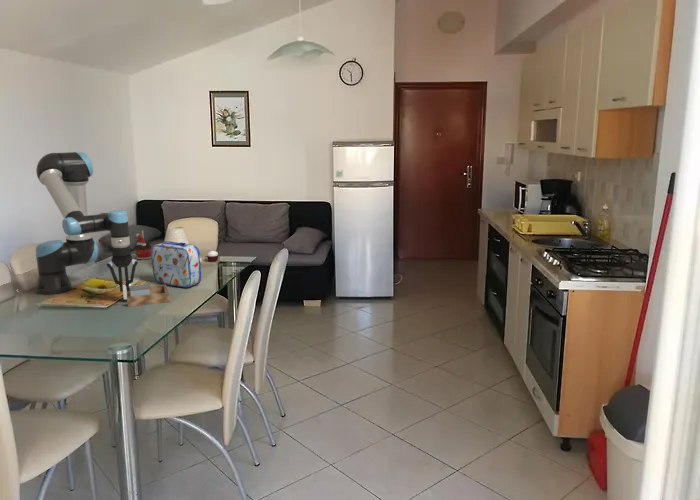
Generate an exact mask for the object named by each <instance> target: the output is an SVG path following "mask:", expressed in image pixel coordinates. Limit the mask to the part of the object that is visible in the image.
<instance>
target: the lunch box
mask: <svg viewBox="0 0 700 500" xmlns="http://www.w3.org/2000/svg"><path fill="white" fill-rule="evenodd" d="M150 259H151V266H152V267H151V268H152V273H153V277H154V279H155V280H156V281H157V282H158V283H160V284H163V285H165V284H166V286H167V285H168V286H170V287H171V286H172V287H179V288H189V287H192V286H195V285H199V284H200V283H201V280H202V269H201V266H202V263H203V260H202V257H201V252H200V249H199V247H198V246H196V245H195V244H191V243H190V244H185V243H176V242H169V241H166V242H164V241H163V242H161V243H157V244H154V245H151V258H150Z"/></svg>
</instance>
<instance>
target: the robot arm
mask: <svg viewBox="0 0 700 500" xmlns="http://www.w3.org/2000/svg"><path fill="white" fill-rule="evenodd" d="M35 170H36V176H37V179H38V180H39V182H40V183H41V185H43V186H45V187H46V190H47V191H48V193H49V195H50V196H51V198H52V200H53V201H54V203H55V205H56V206H57V209H58V210H59V212H60V214H61V215H62V217H63V219H62V223H61V224H62V229H63V232H64V233H65V235H66V237H65V242H63V240H62V239H53V240H48V241H43V242H42V243H39V244H38V245H37V246H36V247H35V258H36V264H37V271H38V272H37V273H38V278H37V283H36V287H35V290H36V291H35V292H36V293H37V294H38V295H39V294H40V295H54V294H56V295H57V294H61V293H65V291H66V292H68V290H69V291H71V290H72V289H73V284H72V282H71V279H70V278H69V275H68V274H67V269H66V268H67V267H73V266H79V265H86V264H88V263H92V262H95V261H96V259H97V258H98V254H99V246H98V242H97V240H96V239H94V238H93V235H91V233H100V232H107V231H109V233H110V244H111V260H110V261H108V262H106V267H107V268H109V271H110V274H111V276H112V279H113V281H114V284H115V285H119V291H120V293H123V300H127V291H129V288H130V284H131V283H133V282H134V277H135V273H136V267H137V265H138V263H139V261H138V259H134V258H133V256H132V253H131V250H132V249H131V246H130V245H131V240H130V230H129V229H130V226H129V217H128V216H129V215H128V212H127V211H126V210H124V209H117V210H110V211H109V212H100V213H99V214H90V215H88V203H87V190H86V189H87V187H86V185H87V183H89V180H90V179H89V178H91V177H92V176H93V173H94V166H93V163H92V160H91V158H90V157H89V156H88V154H87V153H85V152H82V151H81V152H79V151H70V152H69V151H68V152H51V153H47V154H44V155H43V156H42V157H41V158H40V160H38V162H37V165H36V169H35ZM130 264H132V267H131V272H130V279H129V270H128V269H129V268H128V267H129V266H130ZM113 266H115V267H117V269H118V272H117V273H118V277H117V274H116V272H115V269H114V267H113ZM122 268H124V275H125V276H124V278H125V283H123V273H122V272H123V271H122ZM70 289H71V290H70Z"/></svg>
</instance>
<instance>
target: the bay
mask: <svg viewBox="0 0 700 500" xmlns="http://www.w3.org/2000/svg"><path fill="white" fill-rule="evenodd" d="M149 287H150V295H141V296H132V297H131V296H130V287H129V291H127V299H126V301H127V307H128V306H129V307H137V305H138V306H145V305H146V304H147V305H154V304H156V305H157V304H164V303H165V304H166V303H170V292H169V289H168V286H167V284H158V285H157V284H155V285H149ZM147 305H146V306H147Z"/></svg>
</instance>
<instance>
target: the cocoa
mask: <svg viewBox="0 0 700 500" xmlns="http://www.w3.org/2000/svg"><path fill="white" fill-rule="evenodd" d="M220 244H221V240H220V239H219V240H218V244H217V247H216V250H210V251H207V253H206V256H204V259H205V260H206V261H207V262H209V263H215V262H217V261H218V259H219V253H218V250H219V247H220Z"/></svg>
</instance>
